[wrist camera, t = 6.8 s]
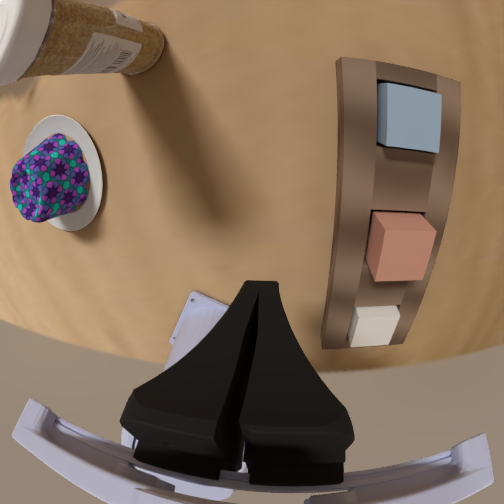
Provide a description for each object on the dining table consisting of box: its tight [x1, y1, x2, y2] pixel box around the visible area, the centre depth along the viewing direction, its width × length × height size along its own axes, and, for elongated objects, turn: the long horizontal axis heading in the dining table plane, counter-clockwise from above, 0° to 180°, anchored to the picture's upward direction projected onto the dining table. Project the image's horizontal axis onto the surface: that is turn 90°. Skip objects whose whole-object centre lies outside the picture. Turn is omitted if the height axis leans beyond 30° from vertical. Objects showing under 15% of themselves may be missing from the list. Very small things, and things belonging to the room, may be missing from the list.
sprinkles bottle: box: [0, 0, 164, 86], centre depth 9 cm, size 5×5×13 cm
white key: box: [348, 305, 400, 347], centre depth 23 cm, size 4×4×3 cm
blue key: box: [376, 83, 442, 153], centre depth 14 cm, size 4×4×3 cm
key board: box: [321, 57, 461, 349], centre depth 19 cm, size 25×9×2 cm, turn 3°
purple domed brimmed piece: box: [10, 115, 103, 231], centre depth 18 cm, size 12×12×5 cm
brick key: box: [366, 211, 437, 281], centre depth 17 cm, size 4×4×3 cm
